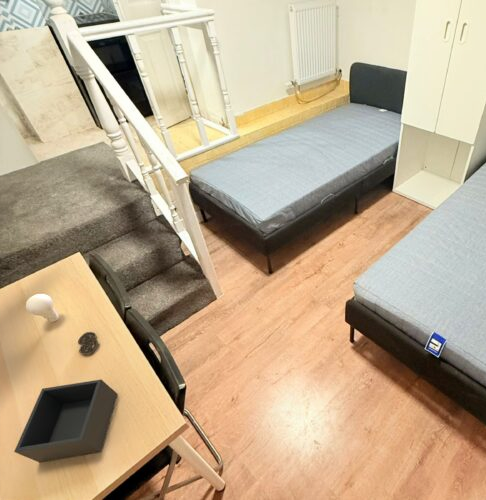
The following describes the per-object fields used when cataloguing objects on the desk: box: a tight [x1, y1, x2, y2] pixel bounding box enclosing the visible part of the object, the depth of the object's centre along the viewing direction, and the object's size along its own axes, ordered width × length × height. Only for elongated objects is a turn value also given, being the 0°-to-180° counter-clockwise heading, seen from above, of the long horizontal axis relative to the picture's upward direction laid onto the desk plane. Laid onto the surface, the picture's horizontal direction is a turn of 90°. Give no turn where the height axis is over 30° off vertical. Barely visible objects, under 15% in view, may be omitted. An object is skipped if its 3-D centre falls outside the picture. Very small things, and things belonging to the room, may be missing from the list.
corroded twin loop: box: [77, 331, 99, 355], centre depth 96 cm, size 5×8×1 cm, turn 35°
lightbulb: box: [25, 293, 60, 323], centre depth 99 cm, size 6×6×11 cm
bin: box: [13, 378, 118, 463], centre depth 78 cm, size 13×13×9 cm
